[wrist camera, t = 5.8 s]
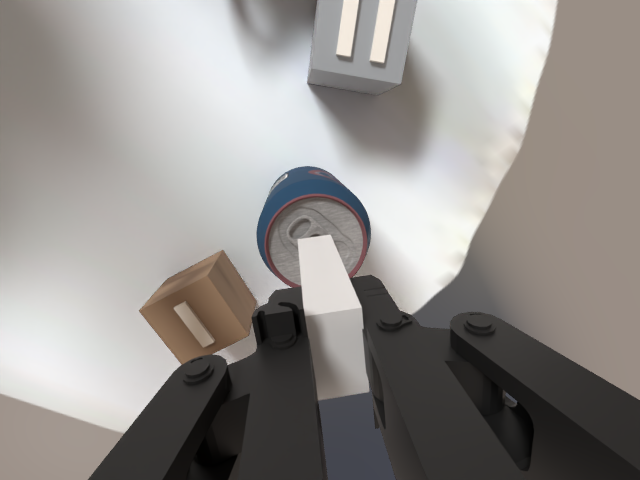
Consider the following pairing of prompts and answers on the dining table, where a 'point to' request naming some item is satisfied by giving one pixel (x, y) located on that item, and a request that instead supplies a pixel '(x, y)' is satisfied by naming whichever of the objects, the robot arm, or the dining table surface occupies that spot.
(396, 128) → the dining table surface
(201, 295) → the walnut numbered block
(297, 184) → the soda can
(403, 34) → the slate numbered block
